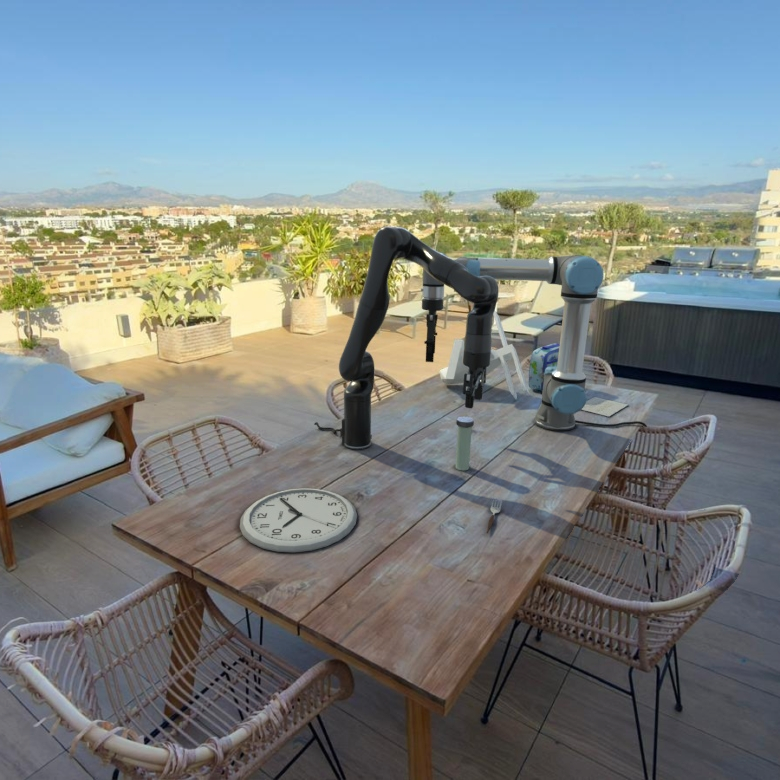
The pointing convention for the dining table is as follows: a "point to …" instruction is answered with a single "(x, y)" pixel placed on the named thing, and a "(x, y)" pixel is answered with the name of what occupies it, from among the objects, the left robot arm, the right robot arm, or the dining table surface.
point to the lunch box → (542, 364)
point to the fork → (493, 510)
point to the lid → (465, 422)
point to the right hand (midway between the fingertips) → (430, 357)
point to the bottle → (463, 448)
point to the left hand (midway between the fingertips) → (473, 403)
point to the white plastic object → (502, 355)
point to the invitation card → (603, 406)
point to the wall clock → (298, 520)
